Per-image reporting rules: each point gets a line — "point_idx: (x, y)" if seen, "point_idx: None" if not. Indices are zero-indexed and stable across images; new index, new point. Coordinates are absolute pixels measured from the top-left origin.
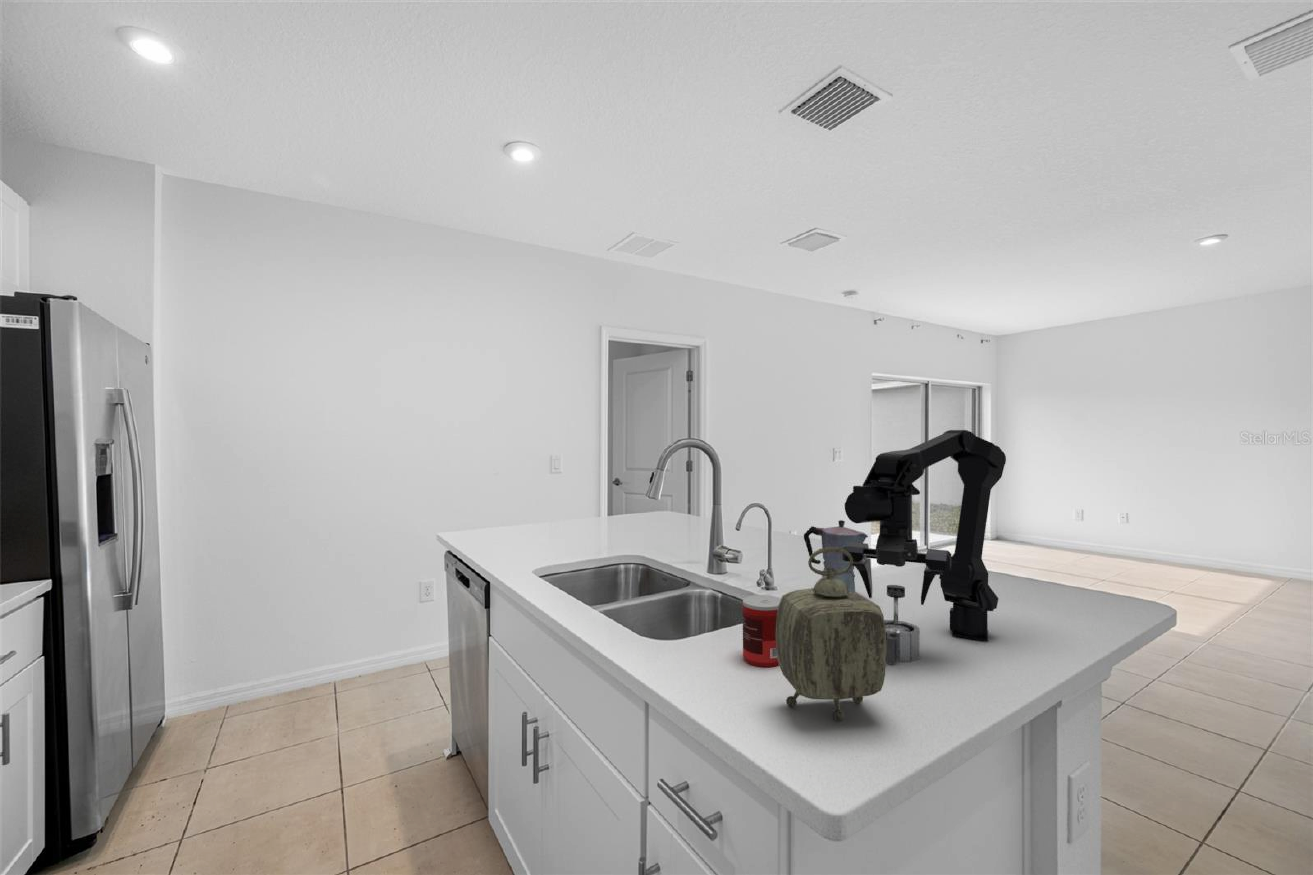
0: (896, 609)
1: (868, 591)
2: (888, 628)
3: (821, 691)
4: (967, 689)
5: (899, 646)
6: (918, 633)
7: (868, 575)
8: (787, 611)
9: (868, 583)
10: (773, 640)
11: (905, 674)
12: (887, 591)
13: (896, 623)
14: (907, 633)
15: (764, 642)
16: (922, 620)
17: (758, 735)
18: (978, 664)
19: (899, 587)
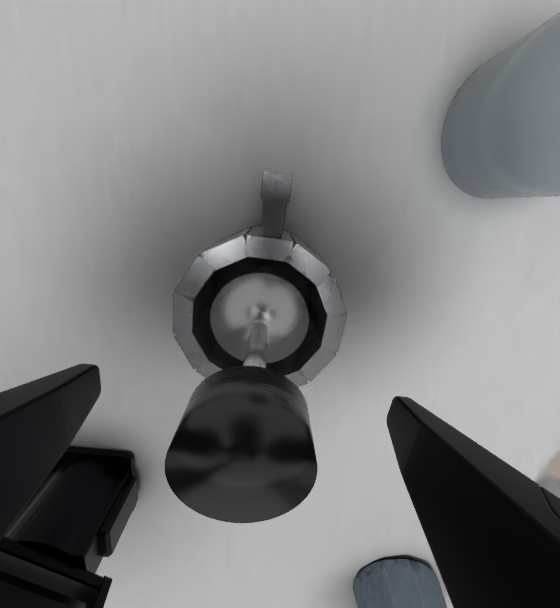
0: (251, 355)
1: (435, 421)
2: (286, 315)
3: None
4: (36, 48)
5: (248, 231)
6: (175, 291)
7: (557, 571)
8: None
9: (484, 470)
10: None
11: (231, 116)
12: (307, 419)
13: (255, 323)
14: (212, 259)
15: None
16: (207, 523)
17: None
18: (45, 287)
19: (210, 471)
